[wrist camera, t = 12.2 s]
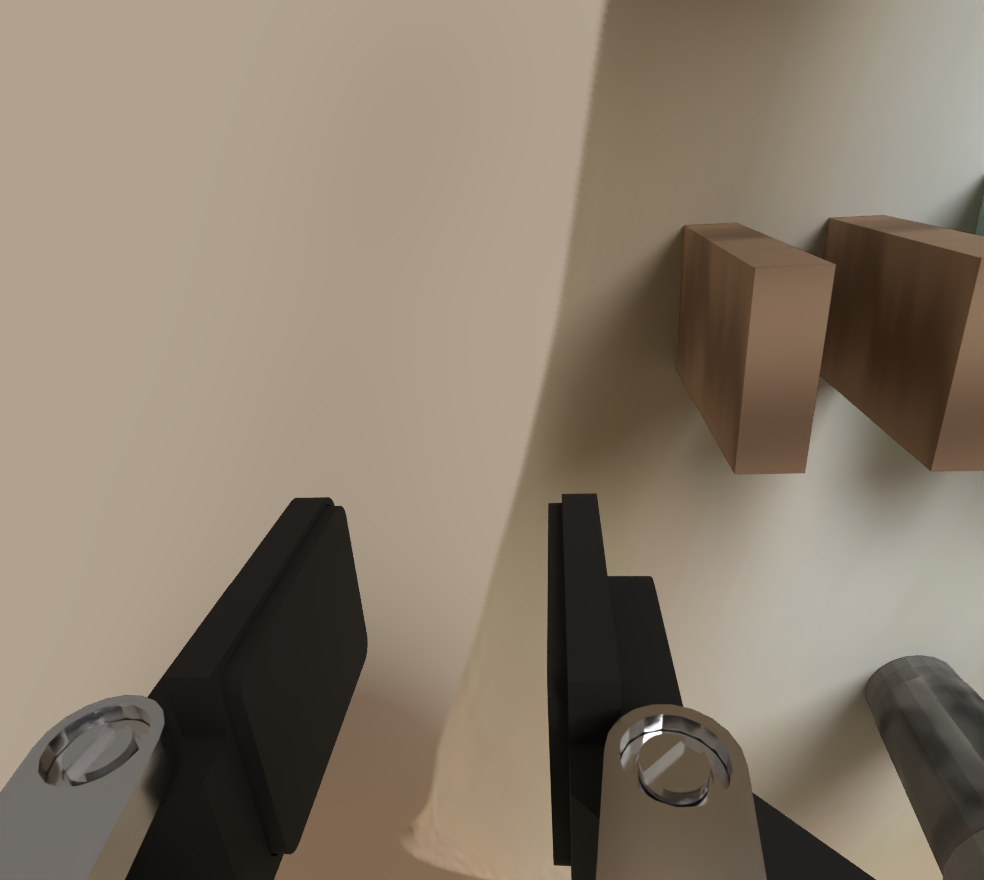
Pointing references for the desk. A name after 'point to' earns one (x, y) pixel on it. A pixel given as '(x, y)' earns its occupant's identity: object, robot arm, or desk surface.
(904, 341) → the domino
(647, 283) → the desk surface
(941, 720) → the beverage cup
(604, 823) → the robot arm
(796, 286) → the domino
